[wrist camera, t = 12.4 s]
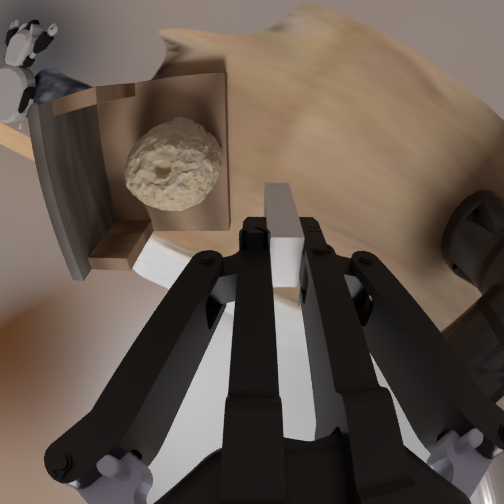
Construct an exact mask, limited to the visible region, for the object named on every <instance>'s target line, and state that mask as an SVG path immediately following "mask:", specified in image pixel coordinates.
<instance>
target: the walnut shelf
mask: <svg viewBox="0 0 504 504" xmlns="http://www.w3.org/2000/svg"><path fill="white" fill-rule="evenodd" d="M27 114H28V122H29V129H30V136H31V142H32V148H33V153H34V158H35V163H36V168H37V172H38V176H39V181H40V184H41V188H42V192H43V196H44V199H45V203H46V207H47V210H48V213H49V216H50V219H51V223H52V225H53V229H54V232H55V234H56V237H57V240H58V243H59V245H60V248H61V251H62V253H63V256H64V259H65V261H66V263H67V266H68V268H69V271H70V273H71V275H72V278H73V280H82V281H84V280H85V278H86V277H87V275H88V274H89V272H90V271H91V269H103V270H126V271H130V270H131V269H132V267H133V265H134V263H135V262H136V260H137V258H138V256H139V255H140V253H141V251H142V249H143V248H144V246H145V244H146V243H147V241H148V239H149V238H150V236H151V234H152V233H153V231H229V230H230V224H231V217H230V191H229V161H228V122H227V73H225V72H223V73H206V74H195V75H185V76H176V77H169V78H162V79H155V80H149V81H143V82H138V83H131V84H117V85H108V86H98V87H93V88H90V89H86V90H83V91H80V92H77V93H74V94H71V95H68V96H65V97H62V98H59V99H56V100H54V101H50V102H46V103H43V104H39V105H36V106H34V107H32V108H29V109H27ZM177 117H184V118H188V119H190V120H194V122H195V123H198V124H199V125H202V126H203V127H204V129H205V131H206V132H207V133H208V132H209V133H210V134H211V135H212V136H213V137H215V139H216V140H217V142H218V143H219V146H220V147H221V149H222V167H221V170H220V173H219V177H218V179H217V181H216V183H215V185H213V187H212V190H211V191H210V192H209V193H208V194H207V195H206V197H205V199H204V200H203V201H202V202H201V203H199V204H196V205H194V206H192V207H190V208H187V209H185V210H182V211H168V210H160V209H158V208H153V207H151V206H149V205H146V204H144V203H143V202H142V201H140V200H139V199H138V198H137V197H136V196H135V195H133V194H132V193H131V191H130V190H129V189H128V188H127V186H126V181H125V175H124V172H125V167H126V164H127V158H128V155H129V153H130V151H131V148H132V147H133V145H134V144H136V143H137V142H138V141H139V139H140V138H141V137H142V136H143V135H145V134H146V133H147V132H148V131H149V130H151V129H152V128H153V127H155V126H158V125H160V124H162V123H164V122H169V121H172V120H173V118H177Z"/></svg>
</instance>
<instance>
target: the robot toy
mask: <svg viewBox="0 0 504 504" xmlns="http://www.w3.org/2000/svg"><path fill="white" fill-rule="evenodd" d="M19 24H20V21H19V20H15V21H13V22H12V24H11V26H10V30H9V31H8V32H7V36H6V45H7V47H8V48H7V52H6V55H5V59H4V62H6V64H9V65H2V66H0V123H10V122H14V121H18V120H20V119H22V118H23V119H22V121H21V123H20V125H19V129H20V128H22V125H23V122H24V119H25V117H26V114H27V109H29V108H30V107H31V104H32V103H33V101H34V100H33V97H34V94H35V87H36V82H35V77H34V75H33V73H32V72H31V71H30V70H29V69H28V68H27V67H30V66H31V65H32V64H33V62H34V61H35V59H34V57H35V56H36V54H37V53H39V52H41V51H43V50H44V49H46V48H47V47H48V45H49V44H50V43H51V42H52V40H53V39H54V37H53V35H55V34H56V33H57V32H58V30H59V26H57V24H56V23H54V24H52V25H51V26H50V27H49V28H48V30H47V32H43V27H42V26H41V25H39V21H38V20H32V21H30V22H29V23H25V24H23V25H22V26H21V27H20V28H18V26H19Z"/></svg>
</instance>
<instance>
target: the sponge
mask: <svg viewBox="0 0 504 504" xmlns="http://www.w3.org/2000/svg"><path fill="white" fill-rule="evenodd" d="M221 167H222V149H221V147H220V146H219V143H218V142H217V140H216V139H215V137H213V136H212V135H211V134H210V133H209V132H208V133H207V132H206V131H205V129H204V127H203V126H202V125H199V124H198V123H195V122H194V120H190V119H188V118H184V117H177V118H173V120H172V121H169V122H164V123H162V124H160V125H158V126H155V127H153V128H152V129H151V130H149V131H148V132H147V133H146V134H145V135H143V136H142V137H141V138H140V139H139V141H138V142H137V143H136V144H134V145H133V147H132V148H131V151H130V153H129V155H128V158H127V164H126V167H125V172H124V175H125V181H126V186H127V188H128V189H129V190H130V191H131V193H132V194H133V195H135V196H136V197H137V198H138V199H139V200H140V201H142V202H143V203H144V204H146V205H149V206H151V207H153V208H158V209H160V210H168V211H182V210H185V209H187V208H190V207H192V206H194V205H196V204H199V203H201V202H202V201H203V200H204V199H205V197H206V195H207V194H208V193H209V192H210V191H211V190H212V187H213V185H215V183H216V181H217V179H218V177H219V173H220V170H221Z"/></svg>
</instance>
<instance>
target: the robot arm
mask: <svg viewBox="0 0 504 504" xmlns="http://www.w3.org/2000/svg"><path fill="white" fill-rule="evenodd" d="M442 254H443V258H444V260H445V262H446V264H447V265H448V266H449V268H450V269H451V270H452V272H453V273H454V274H456V275H457V276H459V277H460V278H462V279H464V280H465V281H467V282H469V283H470V284H472V285H473V286H475V287H477V288H478V289H479V291H480V292H481V294H482V296H481V297H480V298H479V299H478V300H477V301H476V302H475V303H474V304H473V305H472V306H471V307H470V308H468V309H467V310H466V311H465V312H464V313H463V314H462V315H461V316H459V317H458V318H457V319H456V320H455V321H454V322H452V323H451V324H450V325H449V326H448V327H446V328H445V329H444V330H443V331H441V332H440V331H439V330H438V328H437V327H436V326H435V325H434V323H433V322H432V321H431V319H430V318H429V317H428V316H427V314H426V313H425V312H424V311H423V309H422V308H421V307H420V306H419V305H418V303H417V302H416V301H415V300H414V298H413V297H412V296H411V295H410V294H409V293H408V291H407V290H406V289H405V288H404V287H403V285H402V284H401V283H400V282H399V281H398V280H397V279H396V277H395V276H394V275H393V274H392V273H391V272H390V271H389V269H388V268H387V267H386V266H385V265H384V264H383V263H382V262H381V261H380V260H379V258H378V257H376V256H375V255H374V254H372V253H370V252H366V251H357V252H354V253H353V254H352V257H351V258H346V257H342V256H339V255H336V253H335V251H334V249H333V248H332V247H331V246H330V245H328V244H326V241H325V238H324V236H323V233H322V231H321V228H320V226H319V223H318V221H316V220H315V219H314V218H313V217H299V216H298V212H297V209H296V205H295V202H294V199H293V195H292V192H291V189H290V185H289V183H265V189H264V217H247V218H246V219H245V220H244V221H243V229H241V230H240V232H239V251H238V252H237V253H236V254H234V255H232V256H228V257H222V255H221V254H220V253H219V252H216V251H213V250H206V251H201V252H199V253H197V254H195V255H194V256H193V257H192V259H191V260H190V262H189V263H188V264H187V266H186V267H185V268H184V270H183V271H182V273H181V274H180V276H179V277H178V278H177V280H176V281H175V283H174V284H173V285H172V287H171V288H170V290H169V291H168V293H167V294H166V296H165V297H164V298H163V300H162V301H161V303H160V304H159V306H158V307H157V309H156V310H155V311H154V313H153V314H152V316H151V318H150V319H149V320H148V322H147V323H146V325H145V326H144V328H143V329H142V331H141V332H140V334H139V336H138V337H137V338H136V340H135V342H134V343H133V344H132V346H131V348H130V349H129V351H128V352H127V354H126V356H125V357H124V358H123V360H122V362H121V363H120V365H119V366H118V368H117V369H116V371H115V373H114V374H113V376H112V378H111V379H110V381H109V382H108V384H107V386H106V387H105V389H104V390H103V392H102V394H101V395H100V397H99V399H98V400H97V402H96V404H95V405H94V407H93V409H92V410H91V411H90V412H89V413H88V414H87V415H86V416H84V417H83V418H82V419H81V420H80V421H78V422H77V423H76V424H75V425H74V426H72V427H71V428H70V429H69V430H68V431H67V432H65V433H64V434H63V435H62V436H60V437H59V438H58V439H57V440H56V441H54V442H53V443H52V444H51V445H50V446H49V447H48V449H47V450H46V452H45V456H44V463H45V467H46V470H47V472H48V474H49V475H50V476H51V477H52V478H53V479H54V480H56V481H58V482H60V483H62V484H65V485H67V486H70V487H73V488H74V489H76V490H77V491H78V492H79V493H80V494H81V496H82V497H83V498H84V499H85V500H86V501H87V503H88V504H147V503H146V497H147V494H148V492H149V490H150V488H151V487H152V483H153V477H152V473H151V471H150V469H149V468H148V466H149V465H150V464H151V462H152V461H153V460H154V458H155V457H156V455H157V454H158V452H159V450H160V448H161V446H162V445H163V443H164V440H165V438H166V436H167V434H168V432H169V430H170V428H171V425H172V423H173V421H174V419H175V416H176V414H177V412H178V410H179V408H180V405H181V404H182V401H183V399H184V397H185V395H186V393H187V390H188V388H189V386H190V384H191V382H192V379H193V377H194V375H195V373H196V371H197V369H198V366H199V364H200V362H201V360H202V358H203V355H204V353H205V351H206V349H207V347H208V345H209V343H210V340H211V338H212V336H213V334H214V332H215V329H216V327H217V325H218V323H219V321H220V319H221V316H222V314H223V312H224V310H225V308H226V303H228V302H233V301H235V309H234V322H233V335H232V349H231V361H230V376H229V390H228V396H227V398H226V402H225V414H224V429H223V444H222V448H220V449H218V450H216V451H214V452H213V453H211V454H210V455H208V456H207V457H205V458H204V459H203V460H202V461H201V462H200V463H199V464H198V465H197V466H196V467H195V468H194V469H193V470H192V471H191V472H190V473H188V474H187V475H186V476H185V477H184V478H183V479H182V480H181V481H180V482H179V483H177V484H176V485H175V486H174V487H173V488H172V489H170V490H169V491H168V492H167V493H166V494H165V495H163V496H162V497H161V498H160V499H159V500H158V501H156V502H155V503H154V504H471V502H470V499H469V498H470V497H471V495H472V494H473V492H474V491H475V489H477V493H478V496H479V500H480V504H504V200H503V199H501V198H500V197H499V196H497V195H496V194H495V193H493V192H491V191H480V192H477V193H474V194H473V195H471V196H469V197H468V198H467V199H466V200H465V201H463V202H462V203H461V205H460V206H459V207H458V208H457V209H456V211H455V212H454V214H453V215H452V217H451V219H450V221H449V223H448V225H447V227H446V230H445V233H444V237H443V242H442ZM299 279H300V285H301V286H300V293H299V300H298V306H300V303H301V308H302V315H303V321H304V328H305V335H306V342H307V349H308V357H309V364H310V372H311V380H312V388H313V397H314V406H315V414H316V431H315V440H314V441H302V440H295V439H290V438H285V437H283V418H282V403H281V398H280V396H279V384H278V364H277V348H276V329H275V313H274V298H273V287H298V286H299ZM369 295H370V296H371V298H372V300H371V299H370V298H369ZM370 353H371V355H372V357H373V358H374V360H375V362H376V364H377V365H378V367H379V369H380V370H381V372H382V374H383V376H384V377H385V379H386V381H387V383H388V384H389V386H390V388H391V390H392V392H393V393H394V395H395V397H396V398H397V401H398V402H399V404H400V406H401V408H402V410H403V412H404V413H405V415H406V417H407V419H408V421H409V423H410V425H411V426H412V428H413V430H414V432H415V434H416V435H417V437H418V439H419V440H420V441H421V443H422V444H423V445H424V447H425V448H426V449H427V450H428V451H429V452H430V453H431V455H430V457H429V458H428V460H427V464H426V463H425V462H424V461H422V460H421V459H420V458H419V457H418V456H416V455H415V454H414V453H413V452H411V451H410V450H409V449H408V448H407V447H405V446H404V445H403V441H402V436H401V432H400V427H399V423H398V419H397V415H396V411H395V407H394V403H393V399H392V397H391V394H390V391H389V390H388V389H387V388H385V387H381V386H380V385H379V384H378V381H377V377H376V373H375V370H374V366H373V363H372V359H371V356H370Z"/></svg>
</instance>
